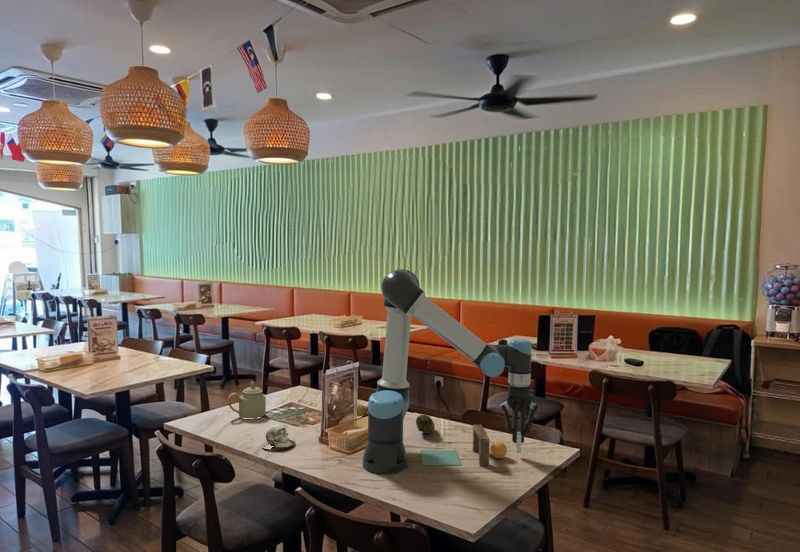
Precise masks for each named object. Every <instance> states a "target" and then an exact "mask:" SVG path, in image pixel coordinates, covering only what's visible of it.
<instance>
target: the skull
mask: <svg viewBox="0 0 800 552" xmlns="http://www.w3.org/2000/svg"><path fill="white" fill-rule="evenodd" d="M265 440H266V443H267V445H269V444H270V445H271V446H274V447H272V448H271V449H268V450H267V451H272V452H273V451H283V450H286V449H290V448H292V447H294V446H295V445H296V442H295V440H292V439H290V437H289V432H288V431H287V429H286V427H285V426H283V425H282V424H274V425H271V426H270V427H269V428H268V429H267V431H266V432H265Z"/></svg>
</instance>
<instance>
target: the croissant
mask: <svg viewBox="0 0 800 552" xmlns="http://www.w3.org/2000/svg"><path fill="white" fill-rule="evenodd" d="M366 413H367V414H368V405H362V404H359V403H358V404H357V416H358V417H359V416H362V415H365V414H366ZM367 414H366V415H367ZM366 415H365V416H366Z"/></svg>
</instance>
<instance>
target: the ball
mask: <svg viewBox="0 0 800 552" xmlns="http://www.w3.org/2000/svg"><path fill="white" fill-rule="evenodd" d="M490 452H491V454H492V456H493V457H494V458H496V459H502V458H504V457H505V456H506V455H507V452H508V449H507V446H506V444H505V443H504V442H501V441H495V442H493V443H492V445H491V446H490Z"/></svg>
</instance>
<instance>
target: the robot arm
mask: <svg viewBox="0 0 800 552" xmlns="http://www.w3.org/2000/svg"><path fill="white" fill-rule="evenodd" d="M380 286H381V287H380V288H381V293H382V296H383V297H384V299H383V307H384V309H385V310H386V312H387V315H386V327H385V338H384V339H385V340H384V347H383V348H384V350H383V363H382V374H381V375H382V376H381V378H380V379H379V380H377V383H376V392H374V393H372V394H371V395H370V396H369V398H368V403H367V406H368V413H367V443H366V447H365V449H364V452H363V455H362V467H363V469H365V470H367V471H369V472H372V473H374V474H375V473H376V474H395V473H399V472H400V473H401V472H402V471H404V470H406V469H407V467H408V466H409V457H408V454H407V450H406V448H405V445H404V419H405V416H406V414H407V411H408V410H409V408H410V405H411V404H410V402H411V400H410V383H409V382H408V381H407V373H408V360H409V357H408V356H409V350H410V349H409V347H410V338H411V337H410V335H411V324H412V316H413V317H414V318H415V319H416V320H418V321H420V322H421V324H423V325H425V326H426V327H427V329H430V330H431V331H432V332H433V333H435V335H437V336H438V337H440V338H441V339H442V340H444V341H445V342H446V343H448V344H449V345H450V346H451V347H453V348H454V349H456V351H458V353H460V354H462V355H463V356H464V357H466V358H467V359H468V360H469V361H470V362H472V363H473V364H474V365H475V366H477V367H478V368H479V369H480V370H481V371H482V372H483V374H484V375H485V376H487V377H490V378H496V377H499V376H500V375H501V374H502V373H503V372H504V371H505V370H504V369H505V368H508V379H507V382H508V385H507V387H508V388H507V398H506V401H505V402H502V403H500V404H499V406H500V408H501V409H502V411H503V417H504V421H505V425H506V430H507V431H508V432H509V433H511V436H512V437H511V440H512V441H511V442H512V443H514V452H515V453H516V454H521V453H522V444H524V442H525V434H526V433H530V432H531V428H532V425H533V421H534V417H535V414H536V411H537V410H538V408H539V405H537V404H536V403H535V402H533V401H532V399H531V382H532V381H531V377H532V375H531V374H532V355H533V353H532V342H531V341H529V340H528V339H523V338H512V339H510V340H509V343H508V344H487V343H486V342H485V341H484V340H483V339H481V338H480V337H479V336H477V335H476V334H475V333H473V332H472V331H471V330H469V329H468V328H467V327H466V326H464V325H463V324H462V323H461V322H459V321H458V320H457V319H455V318H454V317H453V316H451V314H449V313H447V312H446V311H445V310H444V309H442V308H441V307H440V306H439V305H437V304H436V303H435V302H434V301H432V300H431V299H430V298H428V297H427V296H426V293H425V291H424V290H423V289H422V288H421V287H420V280H419V279H418V277H417V275H416V274H415V273H414V272H413V271H411V270H408V269H404V268H403V269H402V268H401V269H400V268H399V269H396V270H392V271H390V272H389V273H387V274H386V275H385V276H384V277H383V279H382V281H381V285H380ZM509 408H510V409H511V412H512V413H511V414H512V415H511V416H512V418H511V420H510V414H509V411H508V409H509ZM528 408H529V410H528ZM527 410H528V414H527V418H526V411H527ZM518 416H519V417H518ZM518 418H519V424H518ZM511 422H512V423H511ZM518 425H519V427H518ZM518 428H519V431H518Z"/></svg>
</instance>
